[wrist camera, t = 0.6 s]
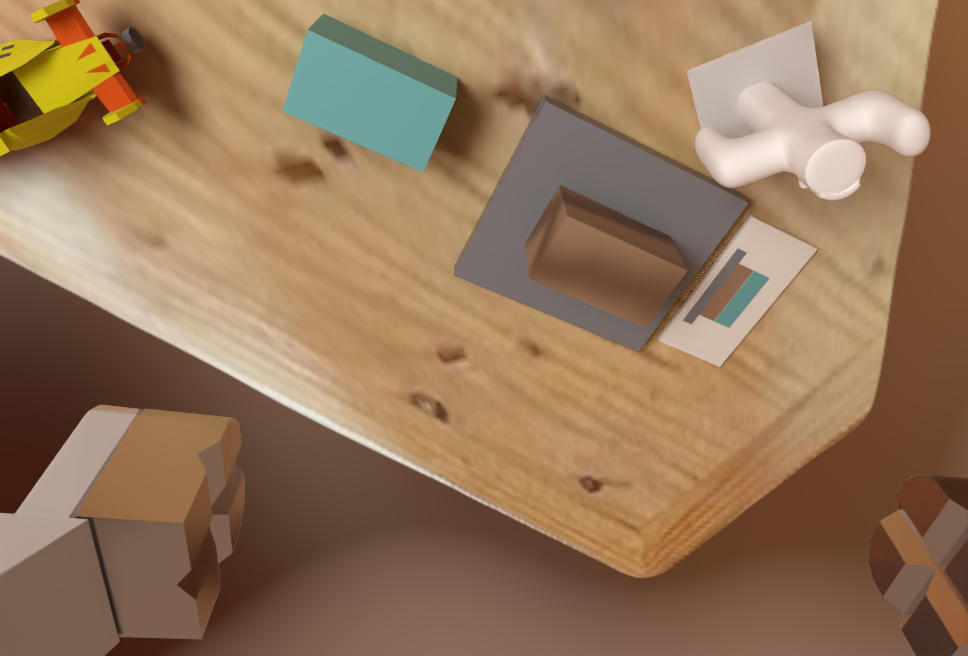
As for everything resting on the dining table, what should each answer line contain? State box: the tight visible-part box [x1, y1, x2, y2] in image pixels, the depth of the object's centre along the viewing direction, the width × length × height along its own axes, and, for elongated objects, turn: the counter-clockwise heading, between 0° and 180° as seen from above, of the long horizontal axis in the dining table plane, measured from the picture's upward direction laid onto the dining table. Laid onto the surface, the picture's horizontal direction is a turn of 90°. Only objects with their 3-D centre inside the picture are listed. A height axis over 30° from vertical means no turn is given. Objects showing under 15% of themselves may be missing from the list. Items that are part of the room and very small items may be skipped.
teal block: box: [282, 14, 458, 172], centre depth 44 cm, size 5×9×5 cm, turn 65°
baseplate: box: [454, 95, 749, 352], centre depth 51 cm, size 14×16×2 cm
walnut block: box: [525, 185, 687, 328], centre depth 48 cm, size 5×9×5 cm, turn 64°
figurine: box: [687, 21, 931, 200], centre depth 40 cm, size 7×9×15 cm
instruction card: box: [658, 215, 817, 367], centre depth 55 cm, size 12×6×1 cm, turn 154°
